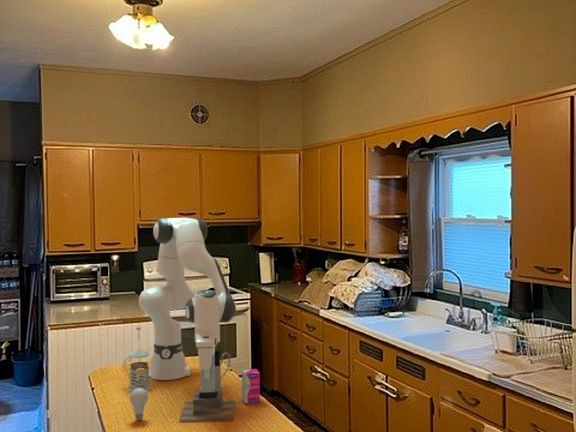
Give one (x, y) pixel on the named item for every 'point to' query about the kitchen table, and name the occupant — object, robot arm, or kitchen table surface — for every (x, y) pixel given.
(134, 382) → the french press
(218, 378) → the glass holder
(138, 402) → the lightbulb
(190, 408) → the socket
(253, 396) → the supplement box
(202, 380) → the peg
